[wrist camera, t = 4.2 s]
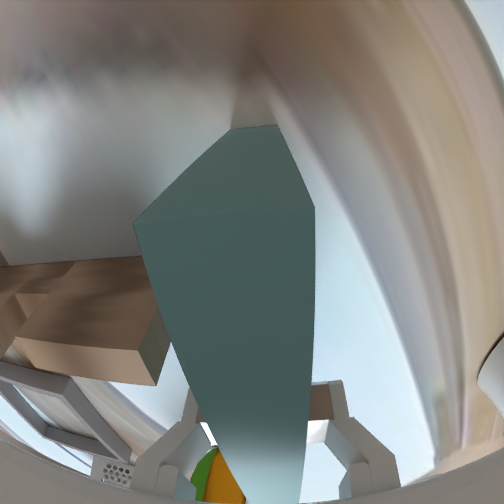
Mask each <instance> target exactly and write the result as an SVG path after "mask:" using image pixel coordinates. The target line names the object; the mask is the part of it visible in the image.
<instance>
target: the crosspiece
mask: <svg viewBox="0 0 504 504" xmlns="http://www.w3.org/2000/svg"><path fill="white" fill-rule="evenodd" d="M133 226H134V229H135V233H136V237H137V240H138V244H139V247H140V251H141V254H142V257H143V261H144V264H145V267H146V270H147V274H148V277H149V280H150V283H151V286H152V289H153V292H154V295H155V298H156V301H157V304H158V307H159V310H160V312H161V315H162V318H163V321H164V324H165V326H166V329H167V332H168V334H169V337H170V340H171V342H172V345H173V347H174V350H175V352H176V355H177V358H178V360H179V362H180V365H181V367H182V370H183V372H184V375H185V377H186V379H187V382H188V384H189V386H190V389H191V391H192V393H193V395H194V398H195V400H196V402H197V404H198V407H199V409H200V411H201V413H202V415H203V417H204V419H205V422H206V424H207V426H208V428H209V430H210V432H211V434H212V436H213V438H214V440H215V442H216V444H217V446H218V448H219V450H220V452H221V454H222V456H223V458H224V459H225V461H226V463H227V465H228V467H229V469H230V471H231V472H232V474H233V476H234V478H235V480H236V481H237V483H238V485H239V487H240V488H241V490H242V492H243V494H244V495H245V497H246V499H247V500H248V502H249V504H299V499H300V492H301V484H302V477H303V468H304V460H305V451H306V441H307V431H308V420H309V408H310V395H311V380H312V363H313V343H314V315H315V207H314V204H313V202H312V200H311V197H310V195H309V193H308V190H307V188H306V186H305V183H304V181H303V179H302V177H301V174H300V172H299V170H298V168H297V165H296V163H295V161H294V159H293V157H292V154H291V152H290V150H289V148H288V146H287V144H286V142H285V140H284V137H283V135H282V133H281V131H280V129H279V127H278V125H275V126H262V127H251V128H241V129H232V130H229V131H228V132H227V133H226V134H225V135H223V136H222V137H221V138H220V139H219V140H218V141H217V142H215V143H214V144H213V145H212V146H211V147H210V148H209V149H208V150H207V151H205V152H204V153H203V154H202V155H201V156H200V157H199V158H198V159H197V160H196V161H195V162H194V163H192V164H191V165H190V166H189V167H188V168H187V169H186V170H185V171H184V172H183V173H182V174H181V175H180V176H179V177H178V178H177V179H176V180H175V181H174V182H173V183H172V184H171V185H170V186H169V187H168V188H167V189H166V190H165V191H164V192H163V193H162V194H161V195H160V196H159V197H158V198H157V199H156V200H155V201H154V202H153V203H152V204H151V205H150V206H149V207H148V208H147V209H146V210H145V211H144V212H143V213H142V214H141V215H140V216H139V217H138V219H137V220H136V221H135V222H134V223H133Z"/></svg>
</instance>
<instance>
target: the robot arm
mask: <svg viewBox="0 0 504 504" xmlns="http://www.w3.org/2000/svg"><path fill="white" fill-rule="evenodd" d="M478 387H479V388H480V389H481V390H482V391H483V392H484V393H485V394H486V395H487V396H488V397H489V398H490V400H491V401H492V402H493V403H494V405H495V406H496V407H497V409H498V410H499V412H500V413H501V415H502V416H503V418H504V337H503V338H502V340H501V341H500V342H499V343H498V345H497V346H496V347H495V348H494V350H493V351H492V352H491V354H490V355H489V357H488V358H487V360H486V361H485V363H484V365H483V367H482V369H481V371H480V373H479V376H478ZM319 442H325V444H326V446H327V447H328V448H329V449H330V450H331V452H332V453H333V454H334V455H335V457H336V458H337V459H338V460H339V461H340V463H341V464H342V465H343V466H344V467H345V468H346V470H347V472H346V474H345V476H344V478H343V480H342V481H341V483H340V485H339V498H340V499H338V500H331V501H323V502H313V503H300V504H504V447H503V448H501V449H499V450H497V451H495V452H493V453H491V454H489V455H487V456H485V457H483V458H480V459H478V460H476V461H474V462H471V463H469V464H467V465H464V466H462V467H459V468H457V469H454V470H452V471H449V472H446V473H444V474H441V475H438V476H435V477H432V478H429V479H426V480H423V481H420V482H416V483H413V484H410V485H406V486H402V487H401V484H400V479H399V474H398V469H397V465H396V460H395V455H394V454H393V453H392V452H391V451H389V450H388V449H387V448H386V447H385V446H384V445H383V444H382V443H381V442H380V441H379V440H377V439H376V438H375V437H374V436H373V435H372V434H371V433H370V432H369V431H368V430H367V429H366V428H365V427H364V426H362V425H361V424H360V423H359V422H358V421H357V420H356V419H355V418H354V417H349V412H348V407H347V401H346V396H345V391H344V386H343V382H342V380H335V381H323V382H314V383H311V395H310V408H309V420H308V431H307V441H306V443H319ZM211 445H217V444H216V442H215V440H214V438H213V436H212V434H211V432H210V430H209V428H208V426H207V424H206V422H205V419H204V417H203V415H202V413H201V411H200V409H199V407H198V404H197V402H196V400H195V398H194V395H193V393H192V391H191V389H190V388H189V390H188V394H187V398H186V403H185V407H184V412H183V416H182V421H181V422H177V423H176V424H175V425H173V426H172V427H171V428H170V429H169V430H168V431H167V432H166V433H165V434H164V435H163V436H162V437H161V438H160V439H158V440H157V441H156V442H155V443H154V444H153V445H152V446H151V447H150V448H149V449H147V450H146V451H145V452H144V453H143V454H142V455H141V456H140V457H139V458H137V461H136V464H135V468H134V472H133V475H132V479H131V483H130V487H129V489H128V488H124V487H121V486H117V485H113V484H110V483H106V482H103V481H100V480H97V479H94V478H91V477H87V476H85V475H82V474H79V473H76V472H73V471H71V470H68V469H66V468H63V467H60V466H58V465H55V464H53V463H51V462H48V461H46V460H44V459H41V458H39V457H37V456H35V455H33V454H31V453H29V452H27V451H25V450H23V449H21V448H19V447H17V446H15V445H13V444H11V443H9V442H8V441H5V440H0V504H223V503H211V502H201V501H195V497H196V487H195V486H194V485H193V484H192V483H191V482H190V481H189V480H188V479H187V478H186V476H187V475H188V474H189V473H190V472H191V471H192V469H193V468H194V467H195V466H196V465H197V463H198V462H199V461H200V460H201V459H202V457H203V456H204V455H205V454H206V453H207V451H208V450H209V449H210V448H211Z"/></svg>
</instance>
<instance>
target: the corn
mask: <svg viewBox="0 0 504 504" xmlns="http://www.w3.org/2000/svg"><path fill="white" fill-rule="evenodd" d="M190 482H191V483H192V484H193V485H194V486H195V487H196V497H195V501H201V502H211V503H223V504H245V503H246V497H245V495H244V494H243V492H242V490H241V488H240V487H239V485H238V483H237V481H236V480H235V478H234V476H233V474H232V472H231V471H230V469H229V467H228V465H227V463H226V461H225V459H224V458H223V456H222V454H221V452H220V450H219V448H216V449H213V450H211V451H210V452H208V453H207V454H206V455H205V456H204V457H203V458H202V459H201V460H200V461H199V462H198V464H197V466H196V468H195V470H194V472H193V474H192V477H191V481H190Z"/></svg>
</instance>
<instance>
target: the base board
mask: <svg viewBox="0 0 504 504" xmlns="http://www.w3.org/2000/svg"><path fill="white" fill-rule="evenodd" d="M15 338H16V340H17V342H18V343H19V345H20V346H21V348H22V349H23V351H24V352H25V354H26V355H27V357H28V358H29V360H30V361H31V362H32V364H33V365H34V367H35V368H39V369H44V370H48V371H53V372H58V373H63V374H68V375H73V376H79V377H85V378H91V379H97V380H104V381H111V382H119V383H127V384H136V385H147V386H156V385H157V382H158V379H159V376H160V373H161V370H162V367H163V364H164V361H165V358H166V355H167V352H168V349H169V346H170V343H171V340H170V337H169V334H168V332H167V329H166V326H165V324H164V321H163V318H162V315H161V312H160V310H159V307H158V304H157V301H156V298H155V295H154V292H153V289H152V286H151V283H150V280H149V277H148V274H147V270H146V267H145V264H144V261H143V257H142V256H135V257H122V258H108V259H95V260H82V261H69V262H57V263H44V264H31V265H19V266H6V267H0V358H2V356H3V355H4V353H5V352H6V351H7V349H8V348H9V346H10V345H11V344H12V342H13V341H14V339H15Z"/></svg>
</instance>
